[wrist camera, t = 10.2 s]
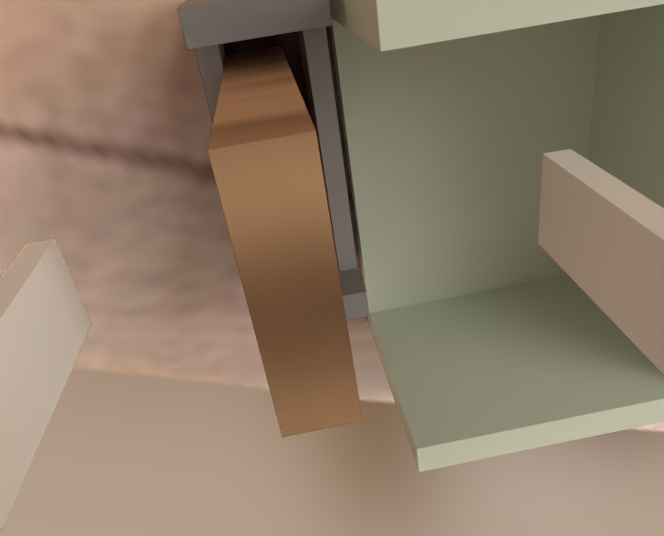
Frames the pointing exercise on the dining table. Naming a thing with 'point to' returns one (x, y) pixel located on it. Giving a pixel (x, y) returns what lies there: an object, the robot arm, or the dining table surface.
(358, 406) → the door panel
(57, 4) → the dining table surface
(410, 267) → the cabinet
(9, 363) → the robot arm
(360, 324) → the dining table surface
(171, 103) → the dining table surface
